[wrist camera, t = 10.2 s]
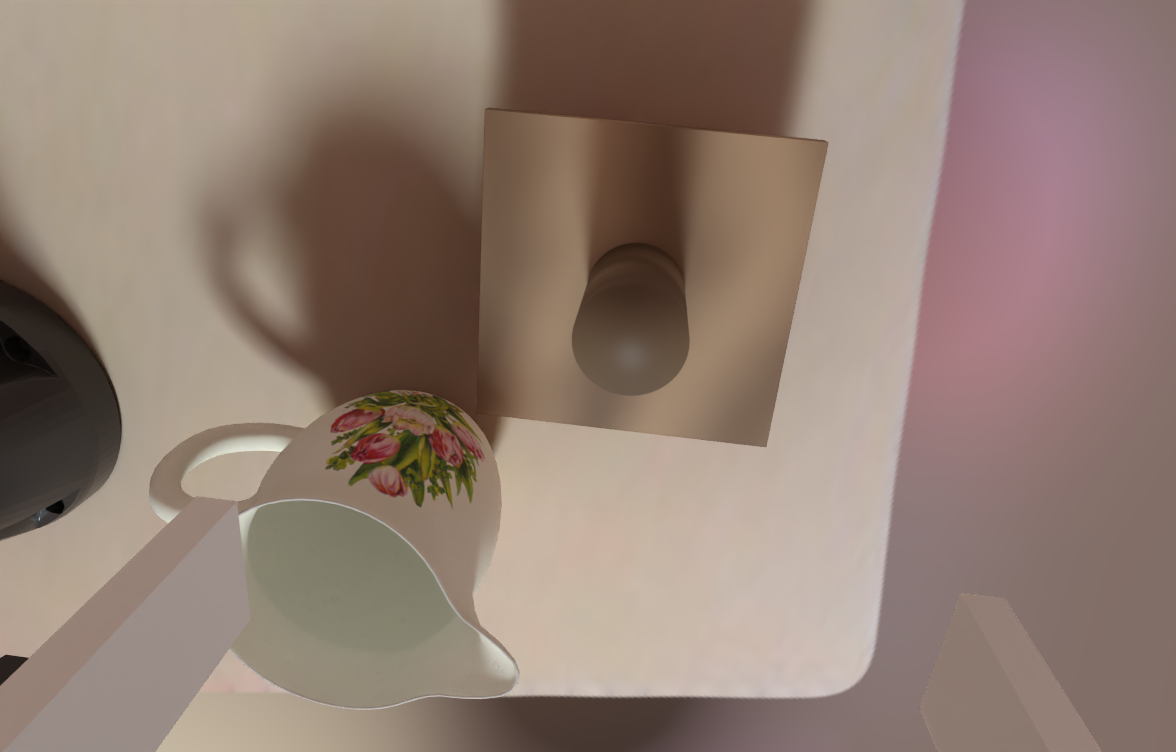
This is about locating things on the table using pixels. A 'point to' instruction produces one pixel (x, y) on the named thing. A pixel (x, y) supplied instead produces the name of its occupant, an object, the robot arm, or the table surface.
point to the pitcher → (364, 551)
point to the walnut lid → (640, 272)
